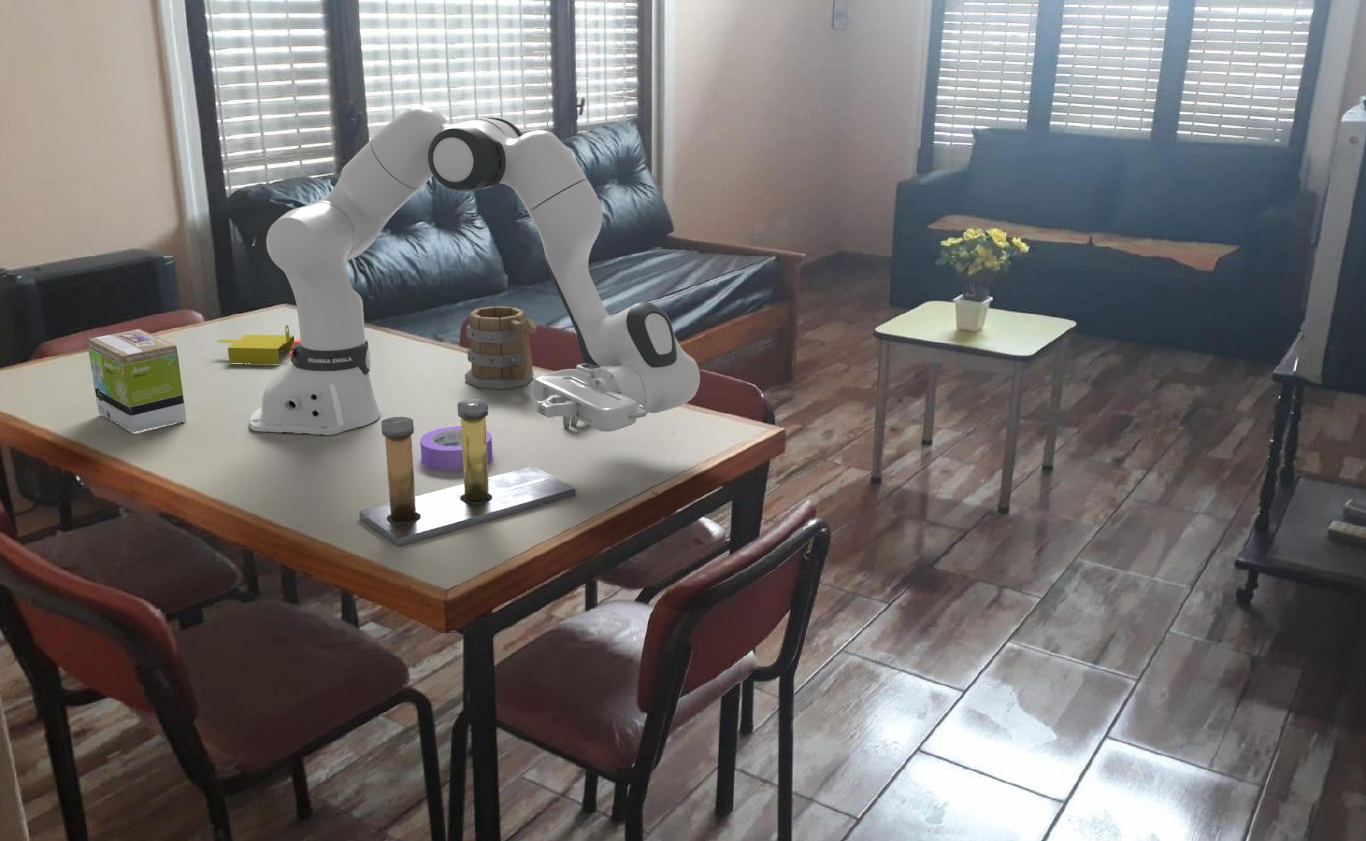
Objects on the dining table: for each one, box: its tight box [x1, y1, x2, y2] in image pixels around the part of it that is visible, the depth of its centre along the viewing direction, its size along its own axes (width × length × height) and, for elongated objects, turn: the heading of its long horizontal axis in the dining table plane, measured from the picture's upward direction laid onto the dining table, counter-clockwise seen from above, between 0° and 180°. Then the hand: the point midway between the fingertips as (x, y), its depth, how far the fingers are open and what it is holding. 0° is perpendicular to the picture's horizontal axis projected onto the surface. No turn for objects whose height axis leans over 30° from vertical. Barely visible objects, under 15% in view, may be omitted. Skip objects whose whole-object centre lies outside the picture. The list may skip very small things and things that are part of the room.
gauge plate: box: [358, 465, 577, 547], centre depth 180 cm, size 30×12×1 cm, turn 130°
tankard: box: [464, 305, 538, 390], centre depth 236 cm, size 20×13×15 cm, turn 37°
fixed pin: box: [380, 416, 416, 522], centre depth 171 cm, size 4×4×15 cm
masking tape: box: [419, 425, 493, 472], centre depth 199 cm, size 12×12×4 cm
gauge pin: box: [457, 398, 489, 501], centre depth 178 cm, size 4×4×15 cm
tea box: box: [86, 328, 187, 432], centre depth 213 cm, size 15×10×15 cm, turn 47°
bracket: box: [216, 324, 295, 366], centre depth 253 cm, size 16×8×15 cm
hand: (541, 410), depth 184 cm, fingers closed
